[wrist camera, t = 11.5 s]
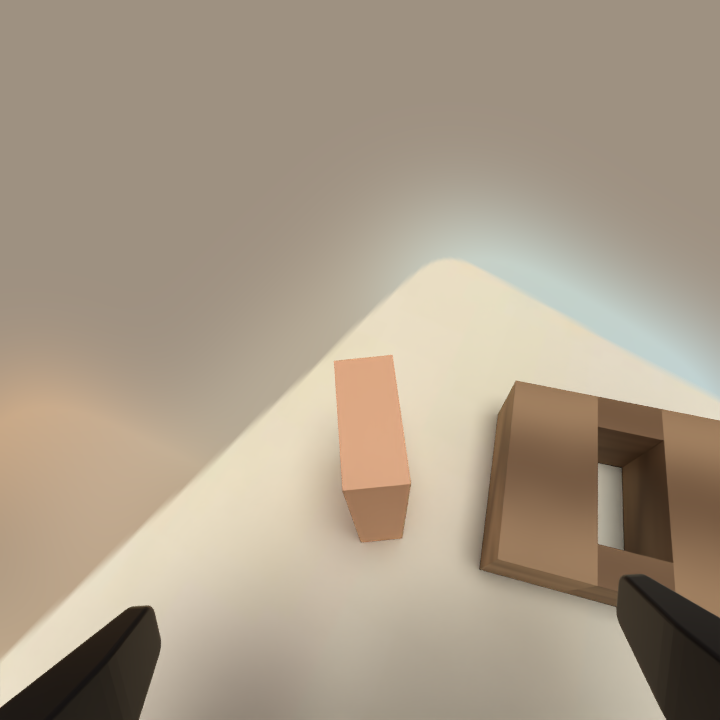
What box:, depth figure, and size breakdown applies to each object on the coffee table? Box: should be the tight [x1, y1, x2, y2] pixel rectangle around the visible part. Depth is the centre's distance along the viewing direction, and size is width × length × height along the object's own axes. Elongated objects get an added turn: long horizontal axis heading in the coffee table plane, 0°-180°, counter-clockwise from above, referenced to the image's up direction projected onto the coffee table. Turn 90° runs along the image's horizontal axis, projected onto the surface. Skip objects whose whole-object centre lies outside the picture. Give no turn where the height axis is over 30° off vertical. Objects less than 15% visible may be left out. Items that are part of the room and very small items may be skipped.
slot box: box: [480, 381, 720, 617], centre depth 20 cm, size 8×10×4 cm
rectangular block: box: [334, 355, 411, 542], centre depth 18 cm, size 4×2×10 cm, turn 5°
